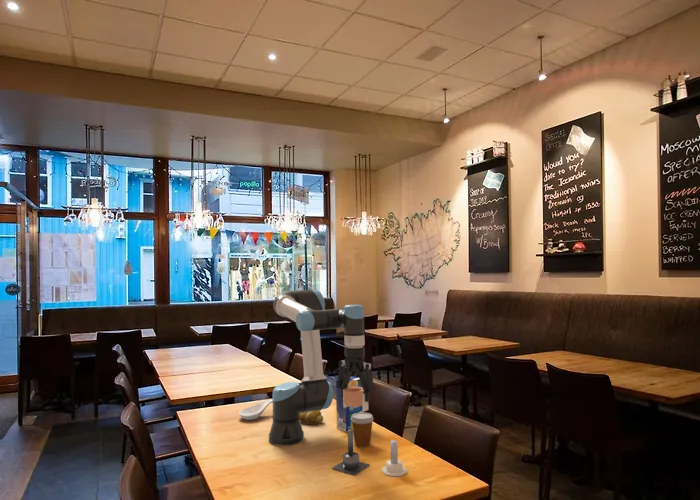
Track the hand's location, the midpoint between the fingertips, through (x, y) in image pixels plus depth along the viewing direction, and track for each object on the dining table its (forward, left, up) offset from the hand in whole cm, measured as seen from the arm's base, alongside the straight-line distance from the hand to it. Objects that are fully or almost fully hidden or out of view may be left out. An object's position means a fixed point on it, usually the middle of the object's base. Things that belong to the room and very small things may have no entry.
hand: (355, 408), depth 173 cm
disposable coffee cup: (-11, +20, -22) cm, 32 cm away
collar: (0, 0, +2) cm, 2 cm away
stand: (-2, -1, -22) cm, 22 cm away
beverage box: (-28, +36, -22) cm, 50 cm away
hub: (+13, +5, -22) cm, 26 cm away
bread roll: (-48, +31, -22) cm, 61 cm away
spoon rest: (-76, +25, -22) cm, 83 cm away
